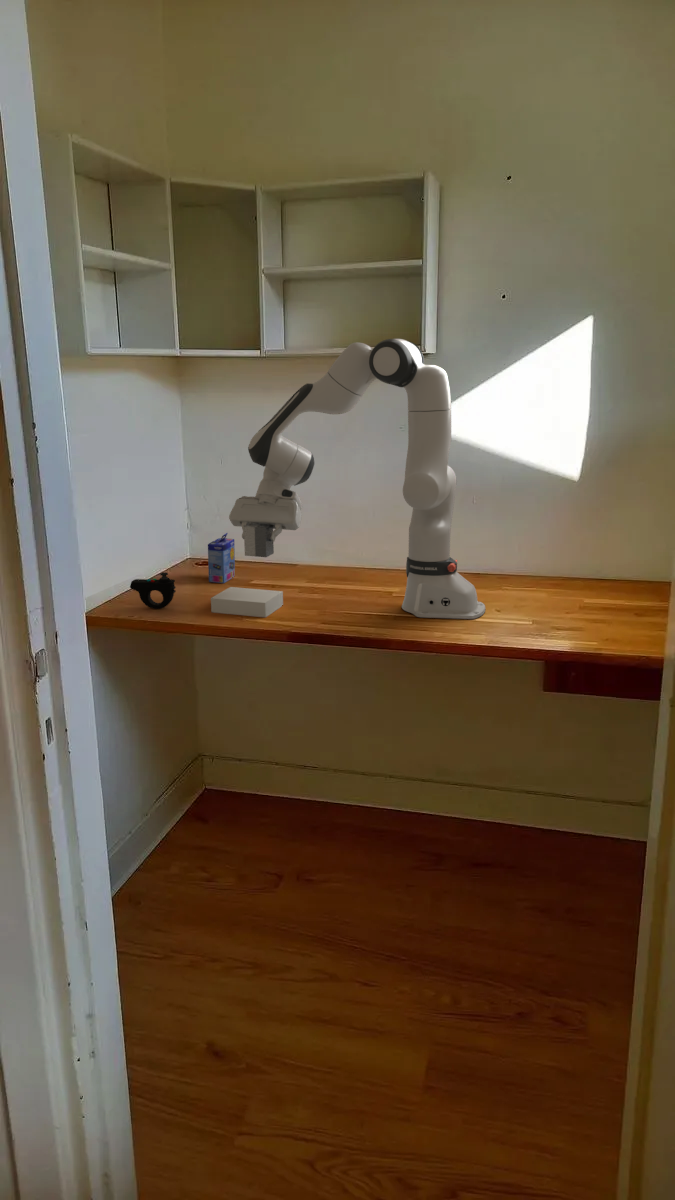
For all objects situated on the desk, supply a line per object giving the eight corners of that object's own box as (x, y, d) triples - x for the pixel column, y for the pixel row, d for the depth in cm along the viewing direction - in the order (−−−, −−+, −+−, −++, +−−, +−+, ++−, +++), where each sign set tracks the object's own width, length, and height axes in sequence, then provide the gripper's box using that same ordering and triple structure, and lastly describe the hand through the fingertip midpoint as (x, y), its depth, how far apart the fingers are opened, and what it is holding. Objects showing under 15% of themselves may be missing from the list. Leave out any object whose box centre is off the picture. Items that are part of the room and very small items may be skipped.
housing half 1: (263, 552, 234) (262, 524, 232) (255, 556, 229) (254, 527, 227) (252, 551, 235) (251, 523, 233) (244, 555, 230) (243, 526, 228)
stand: (283, 605, 235) (282, 591, 234) (265, 617, 224) (265, 602, 223) (230, 600, 240) (230, 586, 239) (211, 612, 229) (210, 598, 228)
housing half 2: (273, 553, 233) (272, 524, 231) (266, 557, 228) (265, 528, 226) (263, 552, 234) (262, 524, 232) (255, 556, 229) (254, 527, 227)
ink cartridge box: (225, 583, 258) (223, 537, 254) (208, 583, 259) (205, 536, 255) (236, 576, 267) (234, 530, 263) (220, 575, 268) (217, 530, 264)
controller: (174, 610, 231) (171, 575, 228) (130, 609, 232) (127, 574, 229) (178, 606, 235) (176, 571, 232) (135, 605, 236) (132, 570, 233)
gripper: (234, 489, 237) (219, 530, 230) (301, 493, 230) (288, 535, 224) (241, 502, 242) (227, 543, 236) (308, 506, 235) (295, 548, 229)
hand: (257, 539), depth 230 cm, fingers open, 6 cm apart
